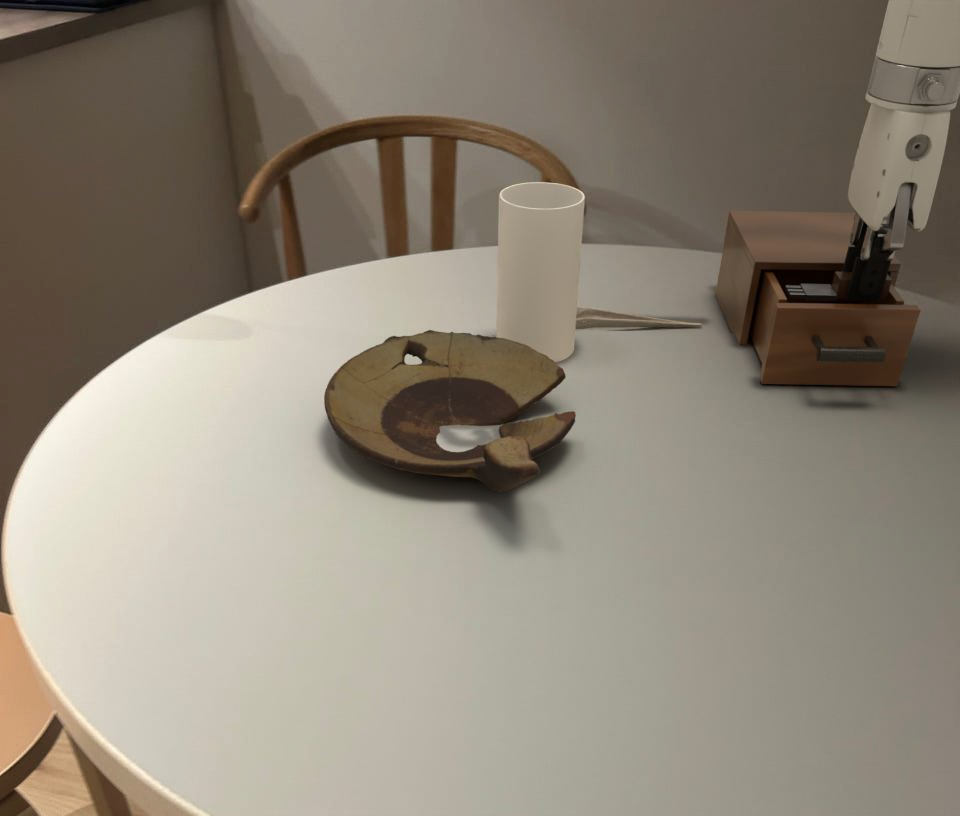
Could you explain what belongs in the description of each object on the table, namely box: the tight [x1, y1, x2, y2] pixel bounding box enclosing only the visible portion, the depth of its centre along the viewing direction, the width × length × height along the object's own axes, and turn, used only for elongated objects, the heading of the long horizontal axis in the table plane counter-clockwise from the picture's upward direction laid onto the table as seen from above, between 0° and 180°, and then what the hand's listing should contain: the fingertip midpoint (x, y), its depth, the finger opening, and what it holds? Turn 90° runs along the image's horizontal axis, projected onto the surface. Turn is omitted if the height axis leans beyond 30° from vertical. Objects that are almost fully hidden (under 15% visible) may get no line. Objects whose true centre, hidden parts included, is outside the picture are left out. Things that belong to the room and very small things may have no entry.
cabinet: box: [715, 210, 902, 347], centre depth 108 cm, size 16×15×10 cm
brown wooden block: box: [784, 272, 892, 301], centre depth 97 cm, size 10×3×2 cm, turn 89°
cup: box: [495, 181, 586, 363], centre depth 100 cm, size 8×8×16 cm
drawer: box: [749, 269, 921, 387], centre depth 99 cm, size 19×13×8 cm
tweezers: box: [575, 306, 703, 330], centre depth 110 cm, size 17×5×2 cm, turn 91°
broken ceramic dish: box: [323, 329, 577, 493], centre depth 87 cm, size 22×30×8 cm
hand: (859, 292), depth 97 cm, fingers closed on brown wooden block, 2 cm apart
